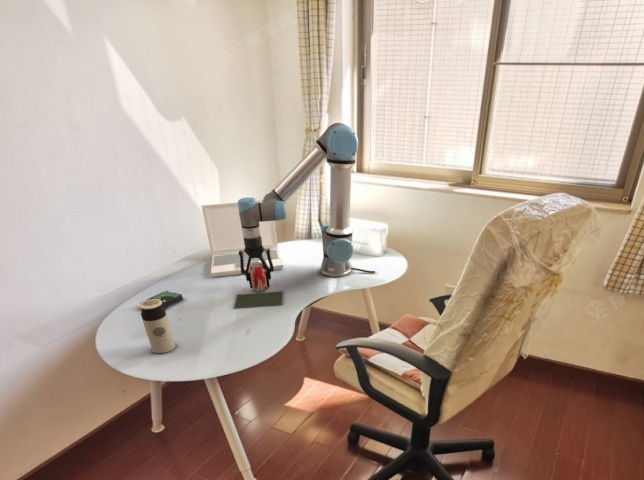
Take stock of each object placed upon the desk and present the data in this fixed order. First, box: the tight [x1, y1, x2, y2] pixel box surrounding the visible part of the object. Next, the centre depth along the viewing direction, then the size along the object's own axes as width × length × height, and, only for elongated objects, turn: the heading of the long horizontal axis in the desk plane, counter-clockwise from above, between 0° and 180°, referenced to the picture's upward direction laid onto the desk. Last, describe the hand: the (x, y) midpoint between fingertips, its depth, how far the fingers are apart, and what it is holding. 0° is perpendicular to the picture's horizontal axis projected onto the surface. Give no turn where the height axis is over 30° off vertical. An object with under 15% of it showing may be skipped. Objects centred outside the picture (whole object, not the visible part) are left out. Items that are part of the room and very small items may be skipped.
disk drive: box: [138, 290, 184, 310], centre depth 200 cm, size 10×3×15 cm
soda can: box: [249, 262, 269, 293], centre depth 207 cm, size 7×7×12 cm
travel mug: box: [138, 299, 176, 354], centre depth 163 cm, size 8×8×18 cm
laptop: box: [201, 199, 284, 278], centre depth 229 cm, size 35×26×28 cm
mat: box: [233, 291, 283, 309], centre depth 201 cm, size 20×14×1 cm
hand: (260, 286), depth 209 cm, fingers closed on soda can, 7 cm apart
